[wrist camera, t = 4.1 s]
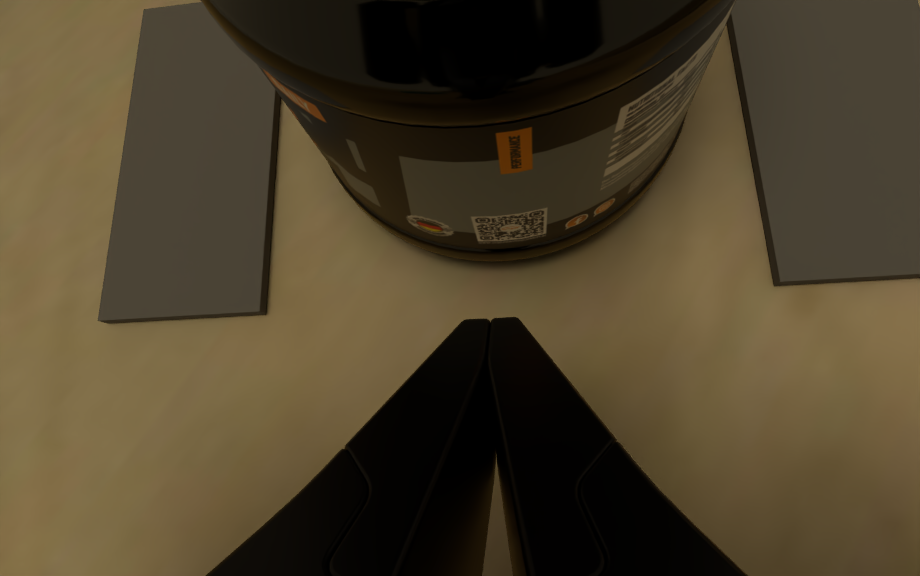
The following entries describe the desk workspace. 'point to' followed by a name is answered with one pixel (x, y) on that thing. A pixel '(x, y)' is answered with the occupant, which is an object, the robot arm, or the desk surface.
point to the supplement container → (485, 107)
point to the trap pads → (764, 108)
